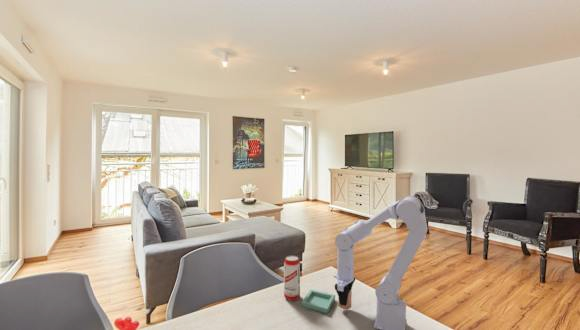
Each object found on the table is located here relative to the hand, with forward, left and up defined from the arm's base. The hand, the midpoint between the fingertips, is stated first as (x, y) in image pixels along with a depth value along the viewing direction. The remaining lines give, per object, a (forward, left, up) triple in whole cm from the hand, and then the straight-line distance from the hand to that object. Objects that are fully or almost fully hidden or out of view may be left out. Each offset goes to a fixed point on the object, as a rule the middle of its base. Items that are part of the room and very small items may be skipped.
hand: (345, 300), depth 101 cm
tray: (+10, 0, -4) cm, 11 cm away
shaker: (0, 0, -2) cm, 2 cm away
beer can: (+21, 0, -4) cm, 21 cm away
